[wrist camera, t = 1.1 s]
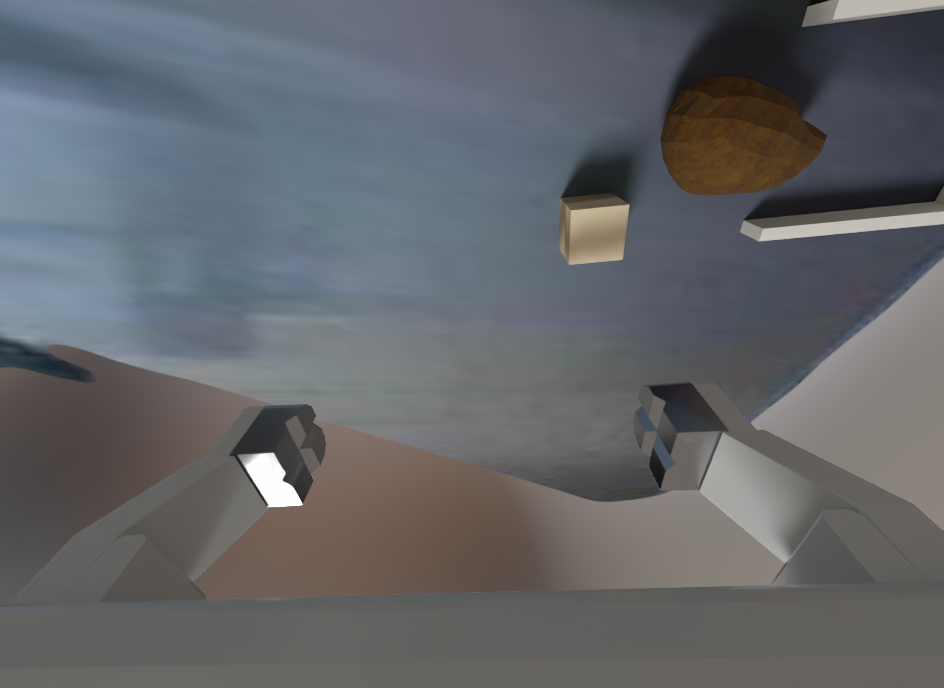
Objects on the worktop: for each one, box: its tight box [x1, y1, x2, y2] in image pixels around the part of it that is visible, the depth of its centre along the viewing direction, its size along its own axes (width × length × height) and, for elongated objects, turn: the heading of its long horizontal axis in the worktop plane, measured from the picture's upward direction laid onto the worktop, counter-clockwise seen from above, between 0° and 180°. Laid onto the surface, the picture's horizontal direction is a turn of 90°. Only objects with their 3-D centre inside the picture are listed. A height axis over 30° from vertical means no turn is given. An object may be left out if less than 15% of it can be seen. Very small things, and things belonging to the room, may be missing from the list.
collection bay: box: [740, 0, 944, 241], centre depth 31 cm, size 17×19×3 cm
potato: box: [661, 75, 827, 195], centre depth 30 cm, size 8×12×9 cm
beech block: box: [559, 193, 630, 265], centre depth 35 cm, size 5×5×5 cm
